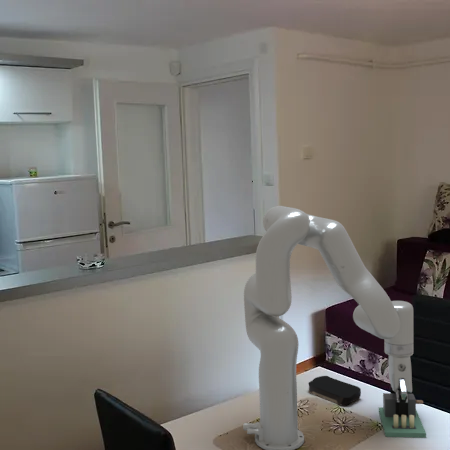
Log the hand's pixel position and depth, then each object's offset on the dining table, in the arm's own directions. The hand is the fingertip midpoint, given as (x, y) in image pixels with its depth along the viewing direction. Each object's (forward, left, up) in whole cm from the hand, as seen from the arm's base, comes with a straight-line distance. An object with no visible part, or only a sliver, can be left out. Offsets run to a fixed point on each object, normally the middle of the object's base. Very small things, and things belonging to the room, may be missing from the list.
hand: (399, 408), depth 163 cm
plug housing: (+1, 0, -2) cm, 2 cm away
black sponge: (-17, +15, -3) cm, 23 cm away
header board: (0, -3, -3) cm, 4 cm away
